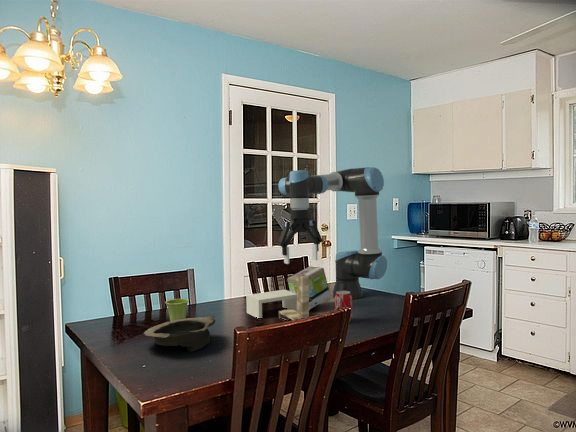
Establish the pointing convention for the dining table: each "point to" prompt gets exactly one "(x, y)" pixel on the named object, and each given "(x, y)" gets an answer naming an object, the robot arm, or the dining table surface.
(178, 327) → the stone bowl
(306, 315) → the beech scraper
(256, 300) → the cream u-shaped bracket
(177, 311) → the plant pot
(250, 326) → the dining table surface
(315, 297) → the tea box
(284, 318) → the steel block
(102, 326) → the dining table surface
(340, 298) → the soda can
